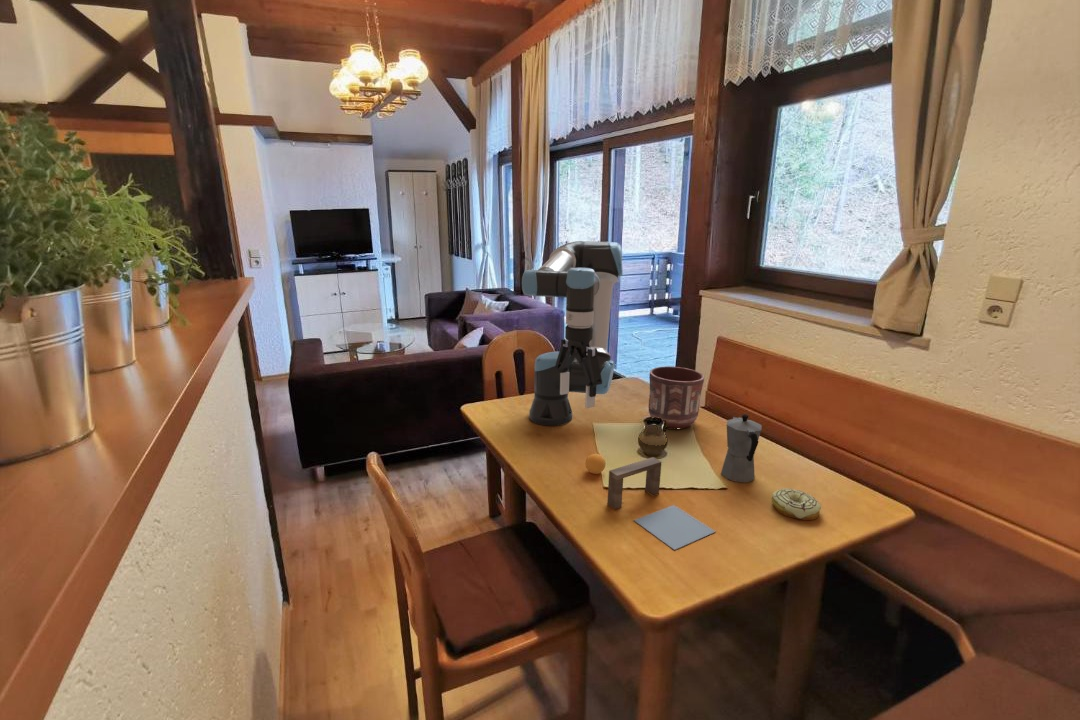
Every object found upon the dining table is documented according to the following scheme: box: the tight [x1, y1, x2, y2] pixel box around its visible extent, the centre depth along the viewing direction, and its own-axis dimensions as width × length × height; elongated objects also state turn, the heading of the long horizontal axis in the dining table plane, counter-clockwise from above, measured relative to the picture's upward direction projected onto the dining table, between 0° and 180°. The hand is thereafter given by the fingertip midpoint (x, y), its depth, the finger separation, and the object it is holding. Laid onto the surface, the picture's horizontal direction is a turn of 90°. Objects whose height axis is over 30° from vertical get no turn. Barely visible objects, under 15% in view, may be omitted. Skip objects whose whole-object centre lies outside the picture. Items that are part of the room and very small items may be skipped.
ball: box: [585, 453, 607, 475], centre depth 145 cm, size 6×6×6 cm
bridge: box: [607, 456, 662, 510], centre depth 131 cm, size 3×14×9 cm, turn 122°
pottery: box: [648, 366, 705, 430], centre depth 178 cm, size 18×18×18 cm
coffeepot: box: [720, 413, 762, 484], centre depth 142 cm, size 15×9×18 cm, turn 0°
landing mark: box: [633, 504, 717, 551], centre depth 121 cm, size 13×13×1 cm
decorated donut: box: [771, 488, 822, 521], centre depth 128 cm, size 10×11×4 cm
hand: (576, 400), depth 149 cm, fingers open, 12 cm apart
